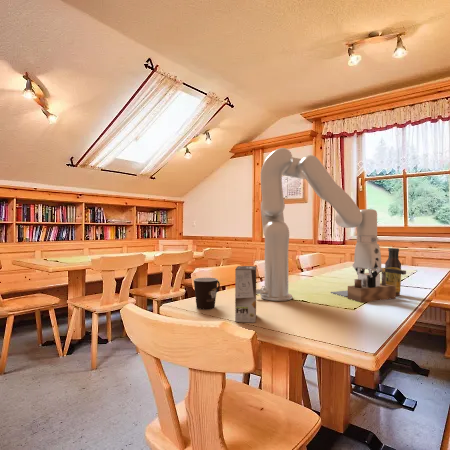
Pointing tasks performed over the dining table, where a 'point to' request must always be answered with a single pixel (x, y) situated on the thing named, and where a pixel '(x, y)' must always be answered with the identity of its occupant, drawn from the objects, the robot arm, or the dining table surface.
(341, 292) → the felt pad
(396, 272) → the lever
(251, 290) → the coffee box
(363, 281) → the lever cap
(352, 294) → the body
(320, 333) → the dining table surface
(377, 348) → the dining table surface
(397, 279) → the sauce bottle
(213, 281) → the coffee mug
